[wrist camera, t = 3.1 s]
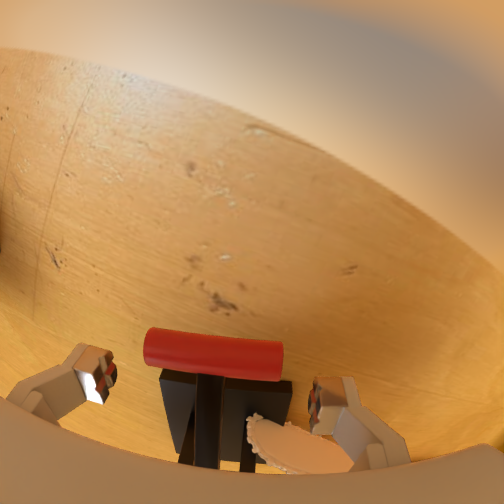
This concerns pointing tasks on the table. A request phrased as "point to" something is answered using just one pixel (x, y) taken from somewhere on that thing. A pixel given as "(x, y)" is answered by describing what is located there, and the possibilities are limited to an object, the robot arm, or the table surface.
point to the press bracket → (234, 414)
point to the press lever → (212, 375)
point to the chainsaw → (295, 448)
